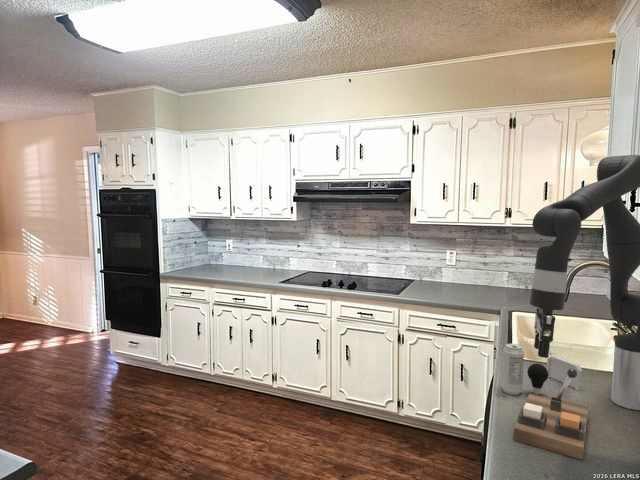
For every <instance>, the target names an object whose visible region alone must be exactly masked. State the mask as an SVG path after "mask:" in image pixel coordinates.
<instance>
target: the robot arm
mask: <svg viewBox="0 0 640 480" xmlns="http://www.w3.org/2000/svg"><path fill="white" fill-rule="evenodd" d="M596 180H597V181H595V182H592V183H590V184H587V185H584V186H582V187H580V188H579V189H577V190H575V191H574V192H572V193H571V194H570V195H568V196H567V197H566V198H565V199H562V200H559V201H555V202H553V203H550V204H548V205H546V206H544V207H542V208H541V209H539V210H538V211H537V212H536V213H535V214H534V217H533V219H532V228H533V230H534V232H535V233H536V234H537V235H539V236H542V237H547V238H555V239H554V241H553V243H552V244H549V245H544V246H541V247H539V248H538V249H537V252H536V257H535V259H536V260H535V266H534V272H533V276H532V281H531V282H532V283H531V291H530V296H529V297H530V298H529V299H530V300H529V305H530V306H532V307H535V308H536V312H535V316H534V317H535V318H534V319H535V321H534V326H533V328H534V334H535V336H534V343H533V347H534V349H536V350H537V356H538V357H540V358H543V359H547V358H549V357H550V355H549V353H550V345H551V343H552V342H553V341H554V331H555V324H556V323H555V322H556V316H554V315H553V314H554V311H562V310H564V308H565V299H566V294H567V293H566V291H567V284H568V283H567V281H568V279H567V278H568V276H567V275H568V273H567V272H568V266H569V265H568V264H569V258H570V255H571V252H572V250H573V247H574V246H575V245H574V244H575V243H576V240H577V238H578V236H579V234H580V231H581V229H582V222H583V221H585V220H586V219H588V218H590V216H592V215H593V214H594V213H596V212H597V211H598V210H600V209H601V208H602V210H603V217H604V218H603V219H604V226H605V241H606V243H605V244H606V251H607V257H608V258H607V259H608V265H609V266H608V267H609V279H610V281H609V283H610V284H609V285H610V286H609V287H610V288H609V291H610V292H609V295H610V296H609V302H610V303H609V304H610V305H609V306H610V314H611V317H612V320H613V321H615V322H617V323H620V324H625V325H629V326H633V327H636V331H635V332H634V333H626V334H625V333H623V334H619V335H617V336H615V340H614V353H613V369H612V370H613V371H612V382H611V394H610V395H611V401H612V402H613V403H614V404H615V405H618V406H619V407H623V408H626V409H629V410H634V411H640V295H638V294H634V293H633V294H632V293H630V292H629V282H630V279H631V277H632V276H633V274H634V273H635V272H636V271H637V269H638V268H639V267H640V223H639V221H638V220H637V218H636V217H635V216H634V215H633V214H632V213H631V212H630V210H629V208H627V206H626V204H625V203H624V200H623V198H622V197H623V196H624V195H626V194H628V193H630V192H632V191H635V190H637V189H639V188H640V154H639V155H638V154H627V155H626V154H625V155H613V156H605V157H603V158H601V159H600V161H599V162H598V164H597V168H596Z"/></svg>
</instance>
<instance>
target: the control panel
mask: <svg viewBox="0 0 640 480" xmlns="http://www.w3.org/2000/svg"><path fill="white" fill-rule="evenodd" d="M556 397H557V396H553V395H552V396H551V397H546V396H543V395H540V394H539V395H535V394H534V393H529V394H528V396H527V399H526V401H525V403H524V405H523V406H522V407H521V409H520V410H519V413H518V415H517V416H518V417H517V420H516V422H515V425H514V427H513V440H514V441H517V442H520V443H524V444H527V445H531V446H535V447H538V448H541V449H545V450H547V451H552V452H554V453H558V454H561V455H565V456H568V457H571V458H575V459H578V460H584V452H585V444H586V436H587V435H586V434H587V426H588V420H589V419H588V418H589V406H586V405H582V404H578V403H574V402H568V401H564V400H563V398H562V399H561V400H560V401H559V400H557V399H556ZM526 403H530V404H534V405H538V406H542V407H543V412H542V417H541V420H538V419H535V418H531V417H527V416H523V408H524V406H525V404H526ZM562 412H566V413H570V414H575V415H579V416H580V425H579V430H577V429H573V428H569V427H565V426H561V425H560V417H561V413H562Z"/></svg>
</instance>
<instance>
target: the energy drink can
mask: <svg viewBox="0 0 640 480" xmlns="http://www.w3.org/2000/svg"><path fill="white" fill-rule="evenodd" d="M502 351H503V352H502V366H501V367H502V368H501V369H502V370H501V371H502V372H501V390H502V391H503V393H505V394H508V395H511V396H519V395H520V394H521V393H522V391H523V382H524V381H523V379H524V378H523V377H524V361H525V360H524V359H525V357H524V356H525V352H524V350H523V346H521V345H520V344H518V343H517V344H516V343H506V344H505V346H504V348H503V349H502Z"/></svg>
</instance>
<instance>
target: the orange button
mask: <svg viewBox="0 0 640 480" xmlns="http://www.w3.org/2000/svg"><path fill="white" fill-rule="evenodd" d="M560 425H561V426H565V427H569V428H573V429H577V430H579V425H580V416H579V415H575V414H570V413H566V412H562V413H561V417H560Z"/></svg>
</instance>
